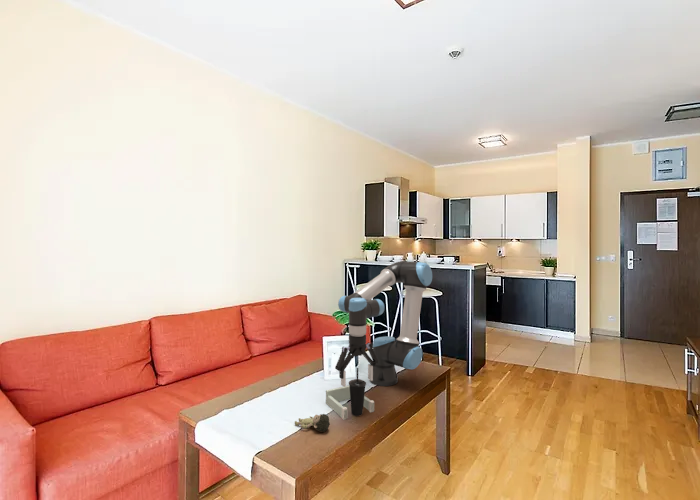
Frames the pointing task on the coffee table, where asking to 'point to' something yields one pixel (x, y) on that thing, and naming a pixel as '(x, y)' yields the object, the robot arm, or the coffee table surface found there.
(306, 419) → the figurine
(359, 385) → the drinking cup
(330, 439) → the coffee table surface
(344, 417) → the bay
